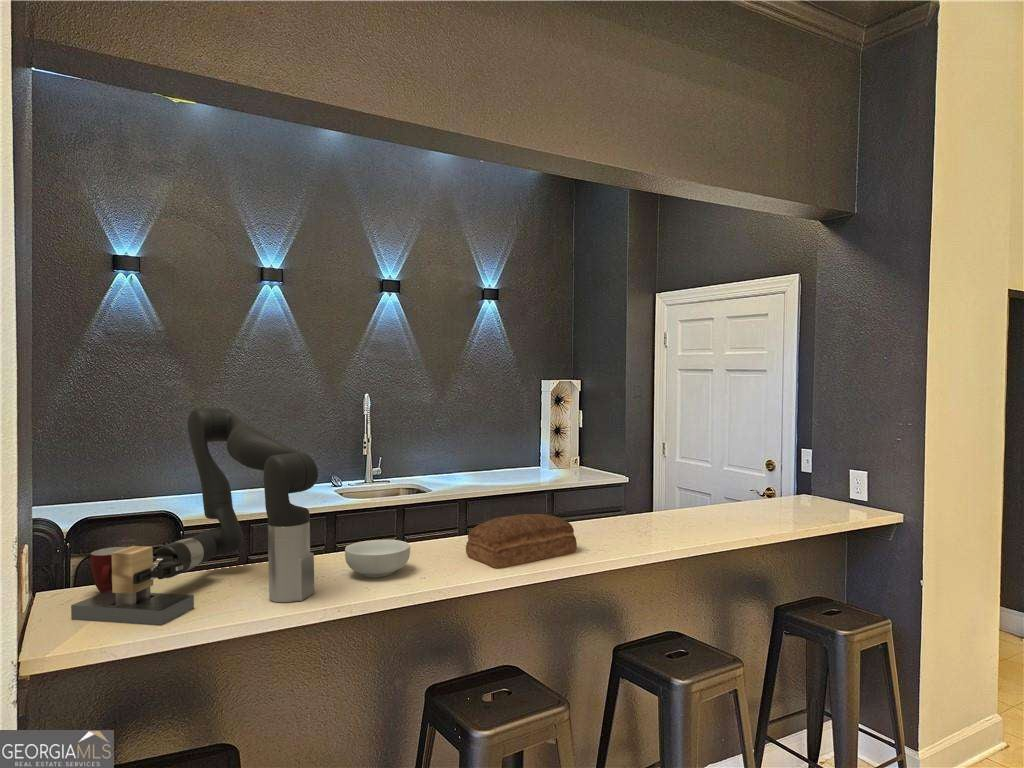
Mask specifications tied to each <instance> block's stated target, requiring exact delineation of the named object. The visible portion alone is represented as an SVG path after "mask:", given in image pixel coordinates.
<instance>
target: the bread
mask: <svg viewBox="0 0 1024 768" xmlns="http://www.w3.org/2000/svg"><path fill="white" fill-rule="evenodd" d="M574 532H575V531H574V526H573V525H572V524H571V523H570V522H568V521H567V520H565V519H563V518H561V517H558V516H553V515H550V514H543V513H531V514H530V513H521V514H515V515H510V516H501V517H500V516H499V517H495V518H492V519H490V520H488V521H485V522H481V523H480V524H478V525H476V526H475V527H473V528H471V530H470V531H468V533H467V542H466V545H465V554H466V555H467V557H468V558H470V559H471V560H474V561H477V562H479V563H481V564H484V565H487V566H489V567H491V568H493V569H502V568H507V567H512V566H517V565H518V566H519V565H522V564H527V563H530V562H535V561H540V560H545V559H551V558H556V557H560V556H565V555H569V554H570V555H571V554H573V553H575V552H576V550H577V548H578V547H577V546H578V545H577V539H576V536H575V534H574Z"/></svg>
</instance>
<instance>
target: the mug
mask: <svg viewBox="0 0 1024 768" xmlns="http://www.w3.org/2000/svg"><path fill="white" fill-rule="evenodd" d="M125 548H128V546H126V547H125V546H114V547H106V548H102V549H101V548H100V549H97V550H94V551H92V552H91V553H90V558H89V560H90V568H91V573H92V576H93V582H94V586H95V587H96V589H97V590H98V591H99V594H101V593H103V592H106V591H108V590H110V591H112V582H111V573H112V553H113V552H116V551H119V550H122V549H125Z"/></svg>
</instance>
